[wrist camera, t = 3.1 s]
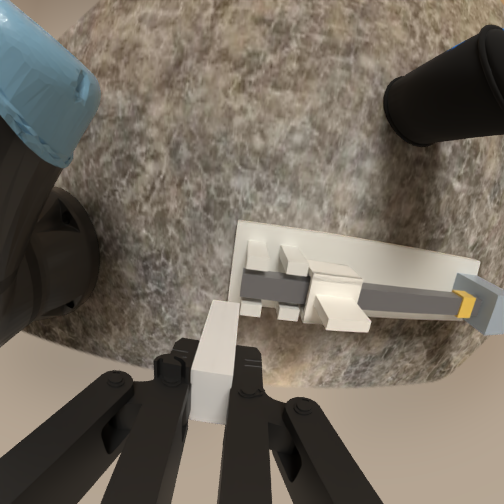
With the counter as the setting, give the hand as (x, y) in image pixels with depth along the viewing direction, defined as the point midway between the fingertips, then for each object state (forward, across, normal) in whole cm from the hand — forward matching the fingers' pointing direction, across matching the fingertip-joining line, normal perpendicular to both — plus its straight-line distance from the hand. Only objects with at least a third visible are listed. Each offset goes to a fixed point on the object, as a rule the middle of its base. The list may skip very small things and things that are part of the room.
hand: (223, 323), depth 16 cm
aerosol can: (+13, +17, +19) cm, 29 cm away
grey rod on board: (+13, +15, 0) cm, 20 cm away
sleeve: (+9, +8, 0) cm, 12 cm away
